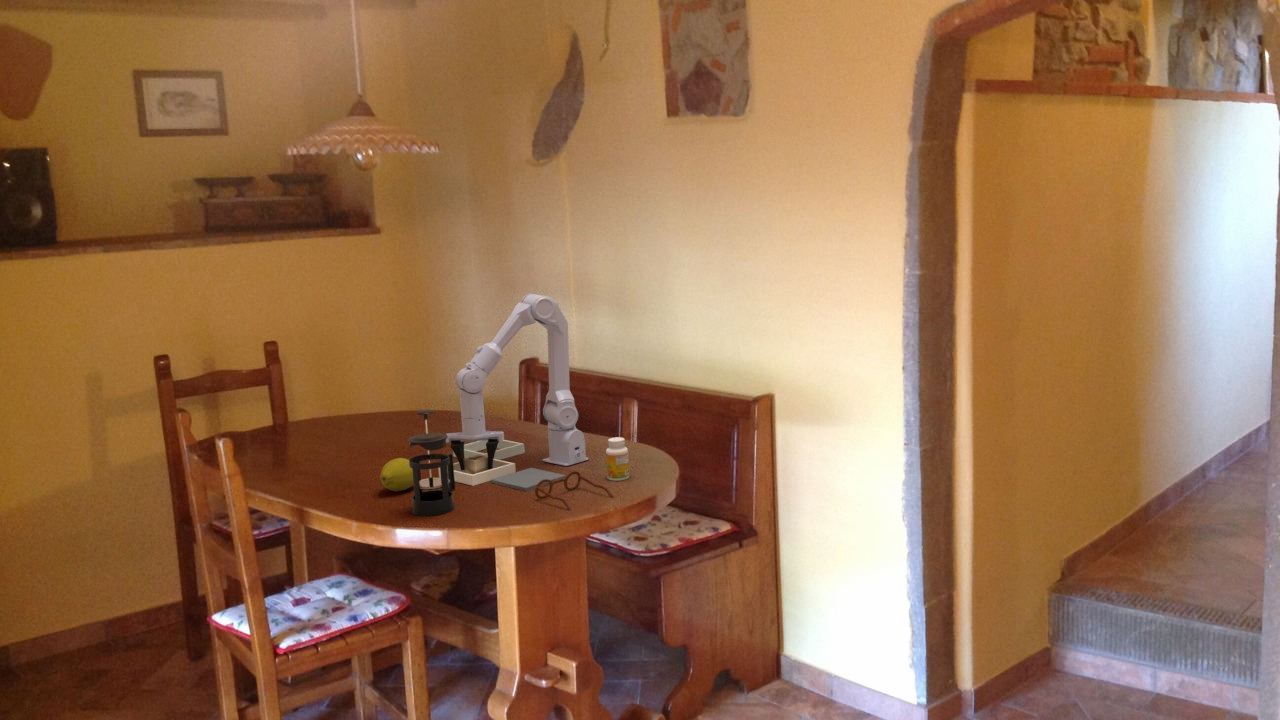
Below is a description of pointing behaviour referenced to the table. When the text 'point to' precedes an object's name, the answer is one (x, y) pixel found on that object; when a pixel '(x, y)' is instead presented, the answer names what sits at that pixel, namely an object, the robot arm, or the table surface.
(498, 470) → the bin
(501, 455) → the bin
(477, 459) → the letter cube
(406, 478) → the lemon
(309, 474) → the table surface
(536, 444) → the table surface
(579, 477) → the glasses
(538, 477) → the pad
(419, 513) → the french press
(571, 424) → the robot arm
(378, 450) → the table surface
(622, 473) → the supplement bottle
